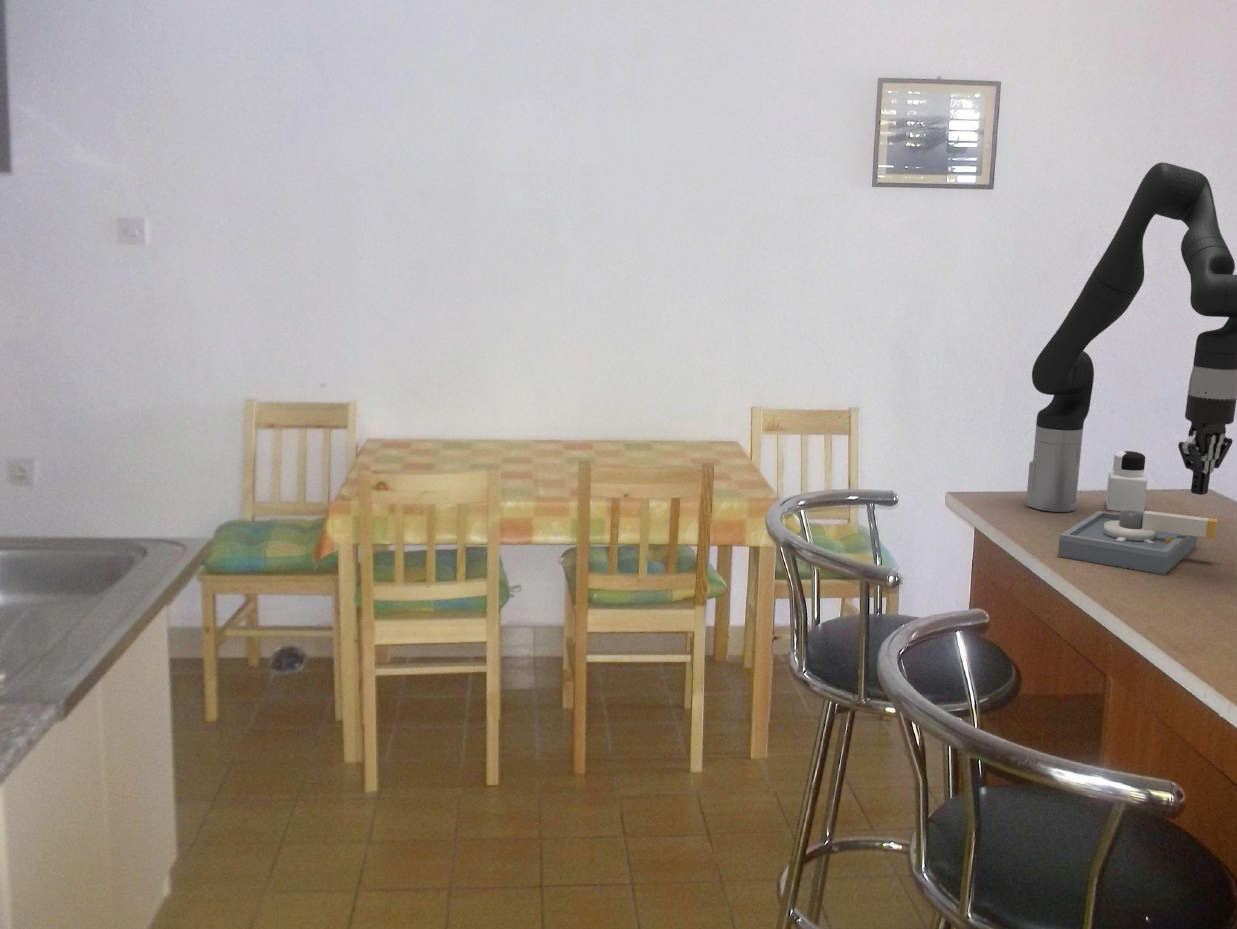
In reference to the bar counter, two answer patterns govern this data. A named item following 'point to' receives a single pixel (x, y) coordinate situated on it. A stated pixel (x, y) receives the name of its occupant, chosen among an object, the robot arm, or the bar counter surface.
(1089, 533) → the grey tray
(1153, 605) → the bar counter surface
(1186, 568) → the bar counter surface
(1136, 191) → the robot arm
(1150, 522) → the white lever with disc
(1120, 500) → the medicine bottle
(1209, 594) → the bar counter surface
